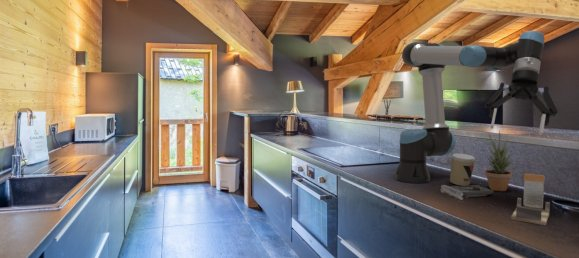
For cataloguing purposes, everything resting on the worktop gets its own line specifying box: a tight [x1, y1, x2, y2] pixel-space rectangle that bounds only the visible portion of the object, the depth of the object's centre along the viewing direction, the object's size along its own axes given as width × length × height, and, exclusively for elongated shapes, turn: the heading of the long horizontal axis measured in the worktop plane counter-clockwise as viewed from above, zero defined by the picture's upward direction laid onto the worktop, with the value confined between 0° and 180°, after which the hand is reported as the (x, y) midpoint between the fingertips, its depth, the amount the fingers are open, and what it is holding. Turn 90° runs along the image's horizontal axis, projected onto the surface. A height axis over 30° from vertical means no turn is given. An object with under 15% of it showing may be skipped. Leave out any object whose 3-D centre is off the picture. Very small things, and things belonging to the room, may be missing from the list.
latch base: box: [510, 197, 551, 226], centre depth 106 cm, size 14×8×4 cm, turn 139°
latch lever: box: [522, 173, 546, 210], centre depth 110 cm, size 2×5×11 cm, turn 49°
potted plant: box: [484, 129, 513, 192], centre depth 139 cm, size 10×10×25 cm
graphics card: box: [440, 184, 494, 201], centre depth 132 cm, size 17×4×12 cm
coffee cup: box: [449, 153, 476, 186], centre depth 149 cm, size 9×9×12 cm
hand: (515, 130), depth 113 cm, fingers open, 13 cm apart
